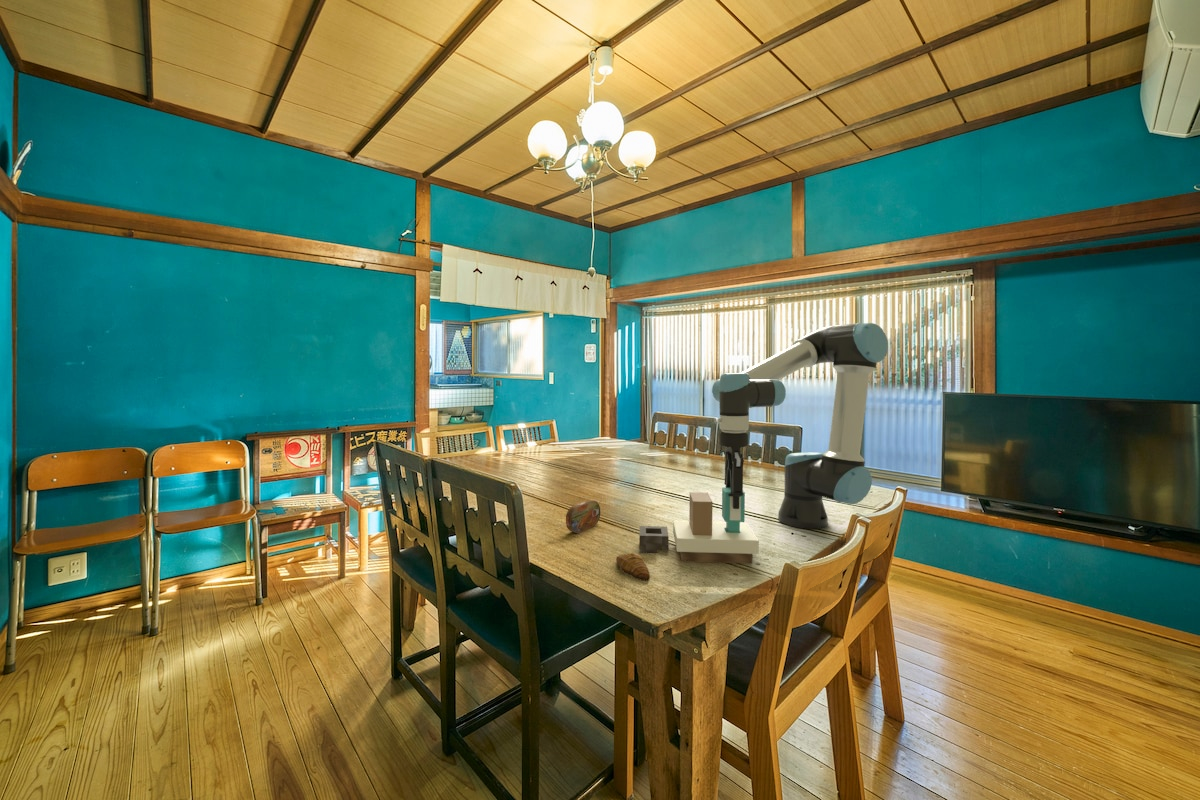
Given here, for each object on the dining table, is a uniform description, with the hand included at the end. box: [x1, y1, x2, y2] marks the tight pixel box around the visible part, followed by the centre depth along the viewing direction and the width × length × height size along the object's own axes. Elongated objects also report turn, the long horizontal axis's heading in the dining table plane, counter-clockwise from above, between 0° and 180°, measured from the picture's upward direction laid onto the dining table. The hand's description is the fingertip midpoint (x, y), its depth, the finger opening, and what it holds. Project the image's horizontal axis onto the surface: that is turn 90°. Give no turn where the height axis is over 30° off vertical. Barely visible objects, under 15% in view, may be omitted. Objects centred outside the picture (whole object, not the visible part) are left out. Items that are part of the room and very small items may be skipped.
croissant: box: [615, 552, 651, 582], centre depth 121 cm, size 14×7×5 cm, turn 30°
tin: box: [565, 500, 601, 534], centre depth 153 cm, size 15×3×8 cm, turn 143°
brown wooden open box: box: [679, 552, 753, 564], centre depth 130 cm, size 18×12×6 cm, turn 85°
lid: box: [672, 491, 760, 555], centre depth 129 cm, size 21×15×12 cm
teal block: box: [721, 486, 746, 533], centre depth 129 cm, size 5×5×16 cm
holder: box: [638, 525, 670, 555], centre depth 136 cm, size 8×8×5 cm
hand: (733, 516), depth 129 cm, fingers closed on teal block, 5 cm apart
